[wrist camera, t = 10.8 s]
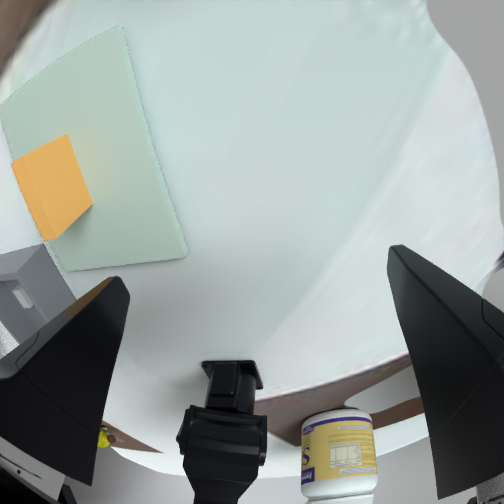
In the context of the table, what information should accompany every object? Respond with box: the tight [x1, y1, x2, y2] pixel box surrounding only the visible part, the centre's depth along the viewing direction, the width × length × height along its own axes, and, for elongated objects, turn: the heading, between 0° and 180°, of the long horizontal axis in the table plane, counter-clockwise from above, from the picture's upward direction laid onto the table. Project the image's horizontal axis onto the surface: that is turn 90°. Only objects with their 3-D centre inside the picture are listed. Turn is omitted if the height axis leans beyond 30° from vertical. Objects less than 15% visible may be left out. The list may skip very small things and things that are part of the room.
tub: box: [0, 244, 77, 345], centre depth 29 cm, size 18×14×5 cm
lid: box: [0, 26, 189, 272], centre depth 17 cm, size 18×14×7 cm
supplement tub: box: [301, 409, 378, 504], centre depth 35 cm, size 12×12×17 cm
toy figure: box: [98, 426, 116, 448], centre depth 57 cm, size 18×6×7 cm, turn 133°
